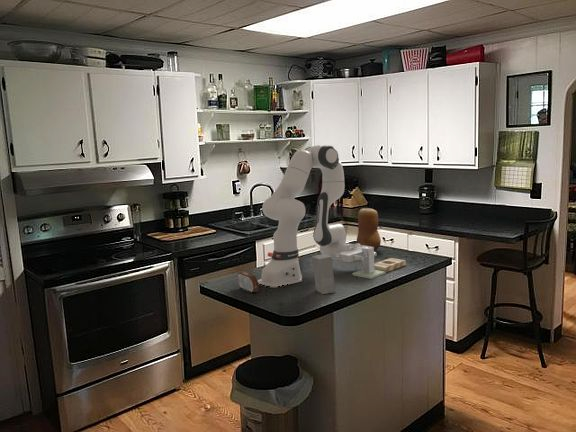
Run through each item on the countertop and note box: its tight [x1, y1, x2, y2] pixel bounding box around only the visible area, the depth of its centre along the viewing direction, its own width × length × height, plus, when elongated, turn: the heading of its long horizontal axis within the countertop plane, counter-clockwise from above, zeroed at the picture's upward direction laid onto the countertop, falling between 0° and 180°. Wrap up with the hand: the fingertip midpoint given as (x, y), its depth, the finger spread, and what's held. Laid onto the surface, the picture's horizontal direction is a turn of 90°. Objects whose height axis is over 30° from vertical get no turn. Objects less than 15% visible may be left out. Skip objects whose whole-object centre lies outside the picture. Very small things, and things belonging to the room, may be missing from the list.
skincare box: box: [311, 254, 336, 295], centre depth 212 cm, size 8×7×16 cm
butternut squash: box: [356, 207, 382, 252], centre depth 279 cm, size 14×13×25 cm
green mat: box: [351, 269, 386, 280], centre depth 235 cm, size 11×11×1 cm
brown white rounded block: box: [237, 270, 260, 293], centre depth 220 cm, size 15×3×8 cm, turn 34°
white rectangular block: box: [361, 247, 375, 274], centre depth 234 cm, size 4×4×12 cm
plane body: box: [374, 257, 407, 274], centre depth 246 cm, size 17×9×2 cm, turn 133°
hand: (369, 256), depth 233 cm, fingers open, 8 cm apart
